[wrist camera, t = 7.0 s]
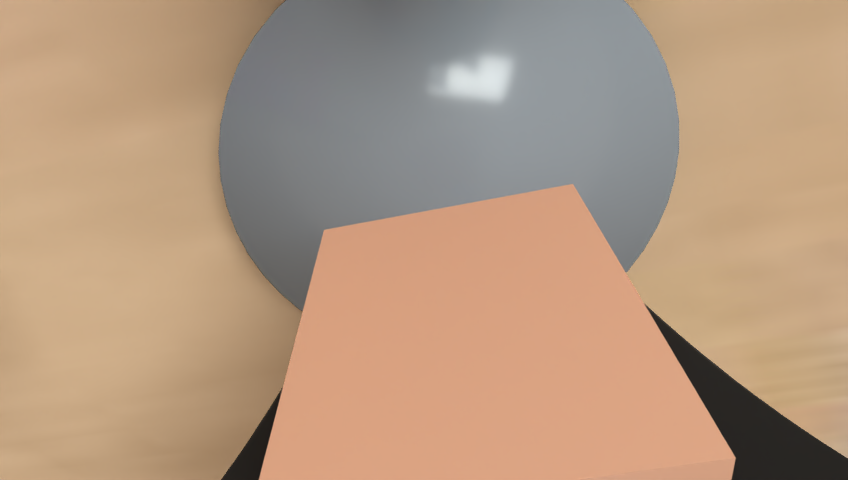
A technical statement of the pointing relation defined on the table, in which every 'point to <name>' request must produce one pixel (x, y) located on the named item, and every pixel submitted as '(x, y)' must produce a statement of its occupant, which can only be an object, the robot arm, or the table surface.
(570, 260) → the block
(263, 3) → the table surface
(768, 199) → the table surface
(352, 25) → the dish
